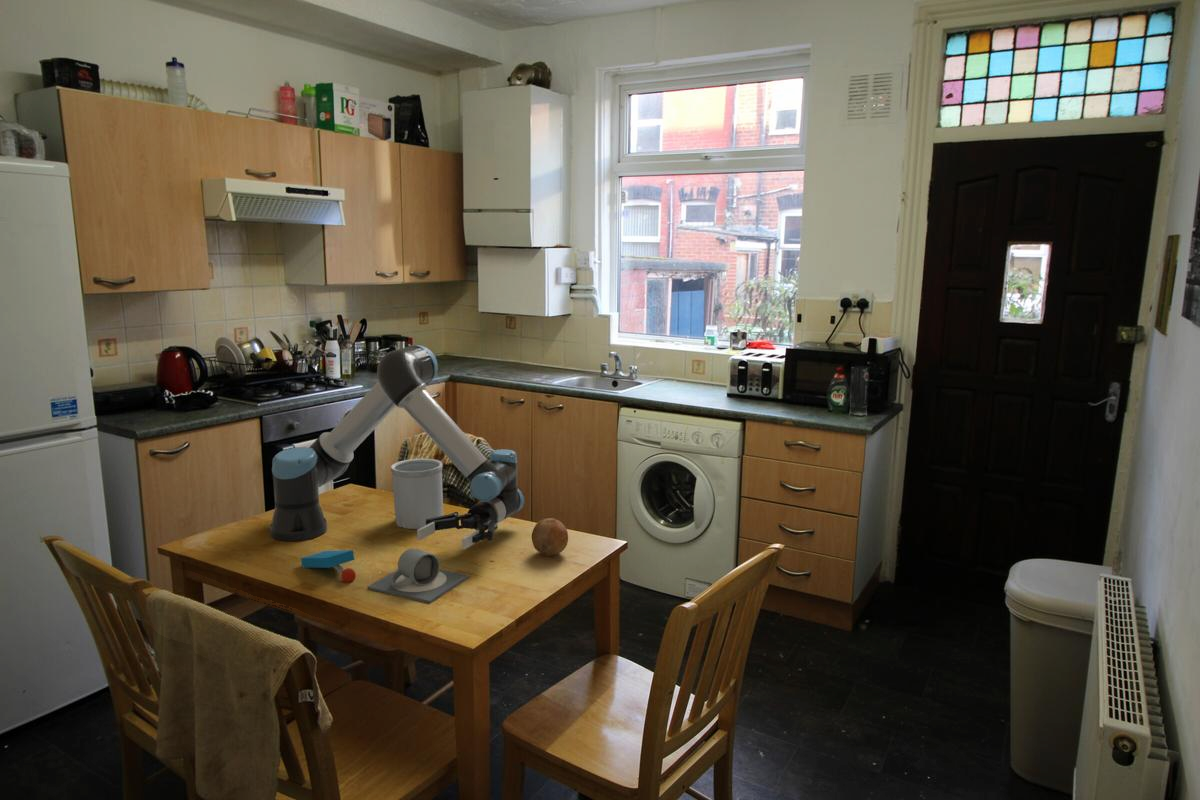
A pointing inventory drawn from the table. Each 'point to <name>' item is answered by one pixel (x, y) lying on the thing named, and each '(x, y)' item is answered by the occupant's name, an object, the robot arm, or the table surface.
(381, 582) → the mat
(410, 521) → the utensil holder
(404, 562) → the ceramic mug
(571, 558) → the table surface
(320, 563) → the lever
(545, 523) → the reddish-brown ball
